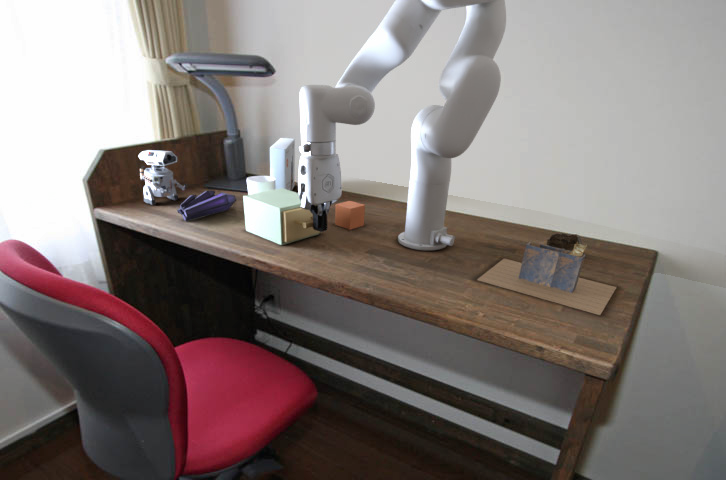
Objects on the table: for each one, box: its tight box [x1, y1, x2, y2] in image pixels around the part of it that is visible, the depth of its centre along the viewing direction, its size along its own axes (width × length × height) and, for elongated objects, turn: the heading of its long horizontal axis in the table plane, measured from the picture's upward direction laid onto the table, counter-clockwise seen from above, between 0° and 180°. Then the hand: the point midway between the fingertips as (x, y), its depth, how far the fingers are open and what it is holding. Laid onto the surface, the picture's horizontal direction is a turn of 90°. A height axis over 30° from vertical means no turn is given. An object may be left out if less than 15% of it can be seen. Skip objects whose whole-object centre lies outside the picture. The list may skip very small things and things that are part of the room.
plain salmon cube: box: [334, 200, 366, 231], centre depth 129 cm, size 6×6×6 cm
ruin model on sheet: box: [476, 241, 618, 316], centre depth 99 cm, size 25×16×10 cm, turn 54°
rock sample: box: [546, 233, 583, 251], centre depth 117 cm, size 10×8×9 cm
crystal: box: [176, 190, 237, 222], centre depth 133 cm, size 7×12×20 cm
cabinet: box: [242, 188, 320, 246], centre depth 121 cm, size 15×13×9 cm
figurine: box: [137, 149, 189, 206], centre depth 139 cm, size 9×12×15 cm
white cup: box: [246, 175, 276, 195], centre depth 134 cm, size 8×8×10 cm
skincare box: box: [269, 137, 296, 191], centre depth 154 cm, size 21×6×16 cm, turn 179°
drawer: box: [282, 205, 322, 243], centre depth 119 cm, size 18×11×7 cm, turn 47°
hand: (320, 229), depth 113 cm, fingers closed
